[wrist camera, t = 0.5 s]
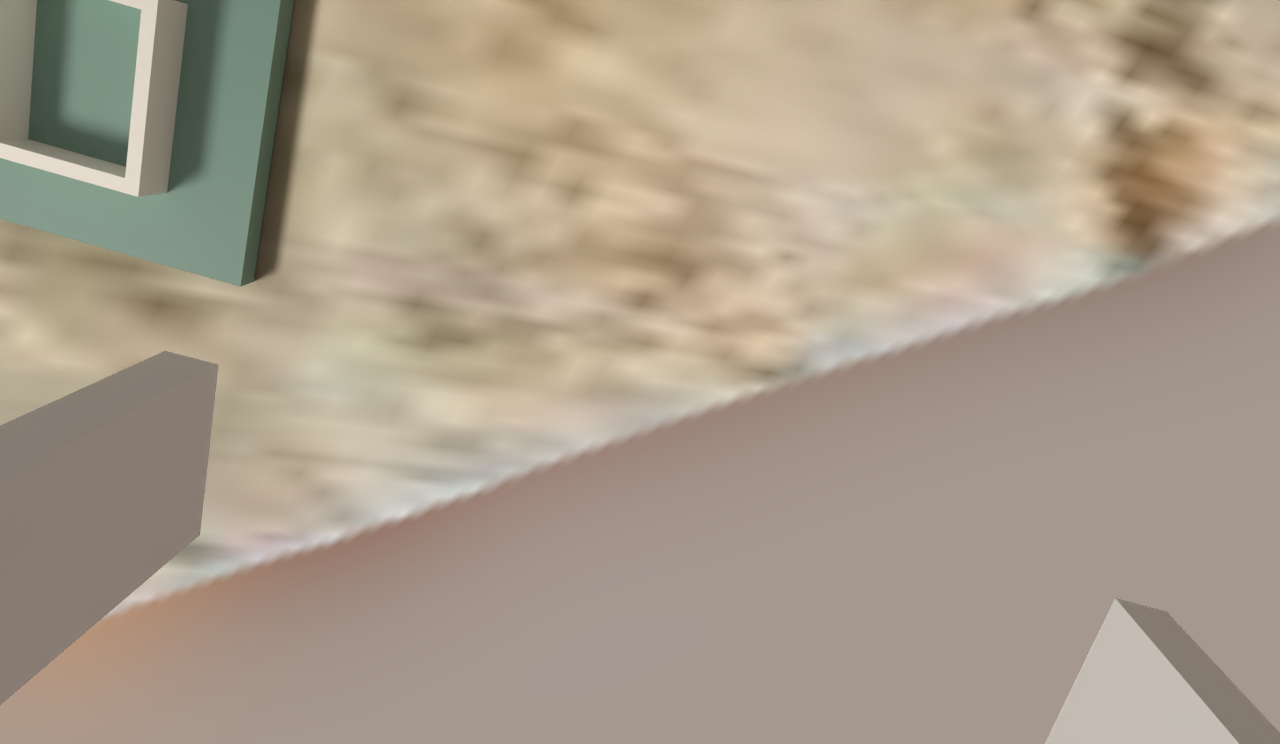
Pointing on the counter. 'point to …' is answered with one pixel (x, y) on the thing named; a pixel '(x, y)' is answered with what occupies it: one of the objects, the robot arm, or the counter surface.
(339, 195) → the counter surface
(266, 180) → the board
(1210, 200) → the counter surface
